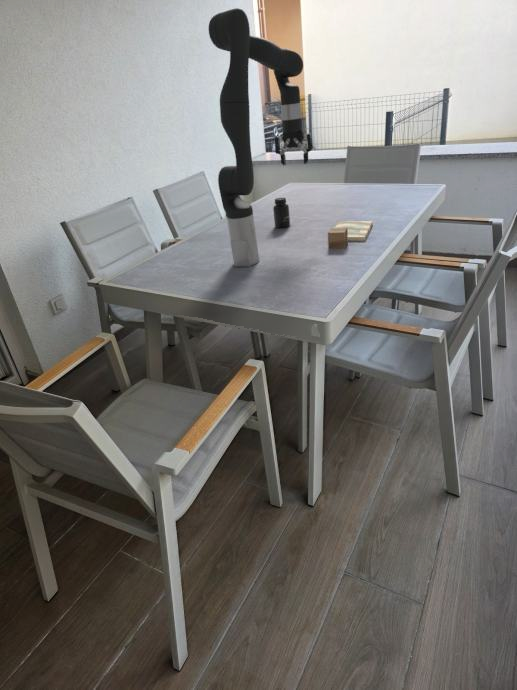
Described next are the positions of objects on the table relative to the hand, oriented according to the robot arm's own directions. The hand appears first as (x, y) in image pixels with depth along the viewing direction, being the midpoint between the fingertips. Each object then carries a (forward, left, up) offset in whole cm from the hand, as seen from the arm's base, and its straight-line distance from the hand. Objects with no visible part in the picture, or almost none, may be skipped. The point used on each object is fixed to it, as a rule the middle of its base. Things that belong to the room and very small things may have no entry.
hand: (294, 164), depth 172 cm
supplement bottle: (+8, +10, -27) cm, 30 cm away
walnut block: (-17, -20, -27) cm, 37 cm away
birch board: (-2, -22, -27) cm, 34 cm away
